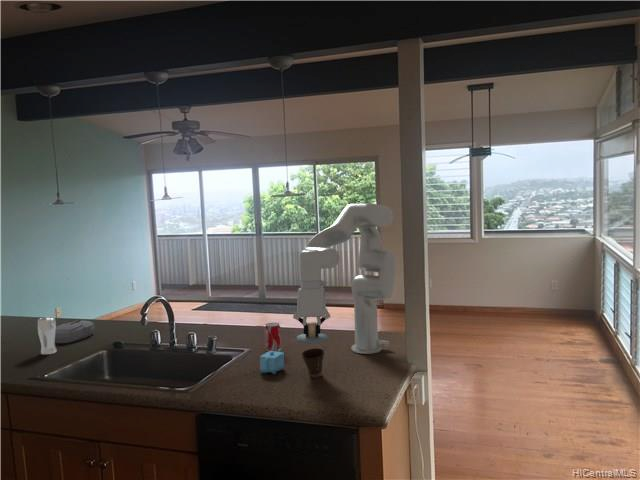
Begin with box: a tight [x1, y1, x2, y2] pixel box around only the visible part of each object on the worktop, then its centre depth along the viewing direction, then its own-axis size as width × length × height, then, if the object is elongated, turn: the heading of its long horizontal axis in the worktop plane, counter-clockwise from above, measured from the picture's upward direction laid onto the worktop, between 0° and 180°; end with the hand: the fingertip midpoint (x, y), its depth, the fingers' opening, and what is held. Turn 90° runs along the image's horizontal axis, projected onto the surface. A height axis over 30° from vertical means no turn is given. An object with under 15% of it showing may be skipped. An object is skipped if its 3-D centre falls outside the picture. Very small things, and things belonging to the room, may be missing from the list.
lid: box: [296, 321, 329, 344], centre depth 178 cm, size 11×11×6 cm
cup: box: [301, 348, 325, 379], centre depth 179 cm, size 8×8×9 cm
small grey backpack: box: [55, 319, 96, 344], centre depth 238 cm, size 15×8×20 cm
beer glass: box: [37, 316, 58, 356], centre depth 216 cm, size 7×7×15 cm
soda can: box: [263, 322, 283, 353], centre depth 209 cm, size 7×7×12 cm
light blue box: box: [259, 348, 285, 375], centre depth 187 cm, size 12×6×8 cm, turn 156°
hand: (312, 335), depth 178 cm, fingers closed on lid, 3 cm apart
